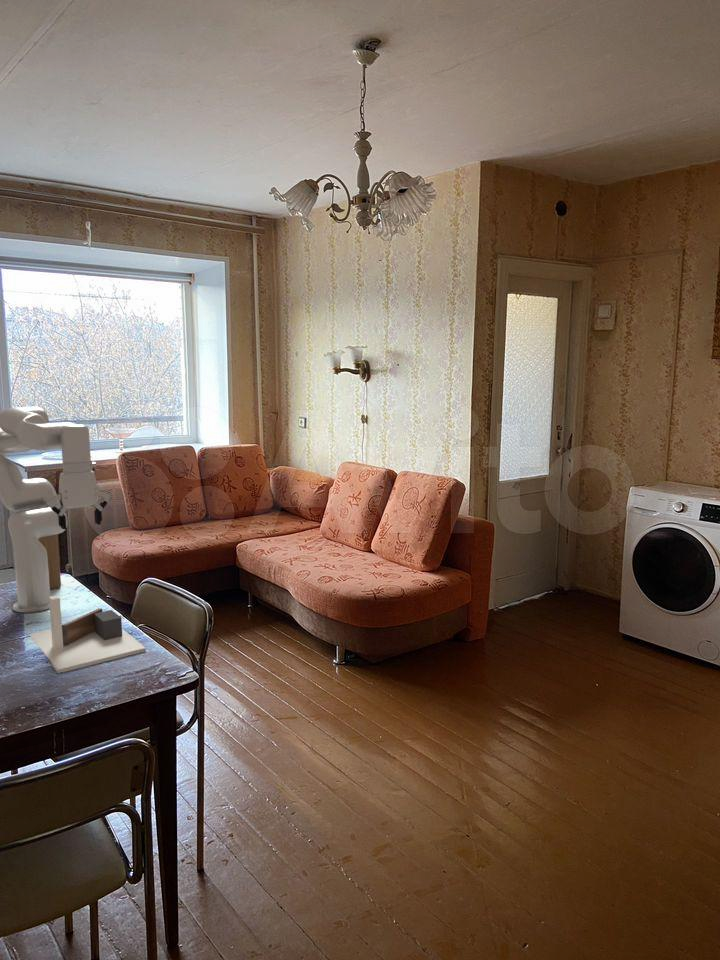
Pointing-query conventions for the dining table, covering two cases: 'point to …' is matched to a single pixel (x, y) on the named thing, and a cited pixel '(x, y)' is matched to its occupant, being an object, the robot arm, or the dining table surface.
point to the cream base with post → (80, 645)
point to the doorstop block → (108, 624)
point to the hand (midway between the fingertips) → (81, 526)
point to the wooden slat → (79, 627)
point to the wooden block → (52, 559)
